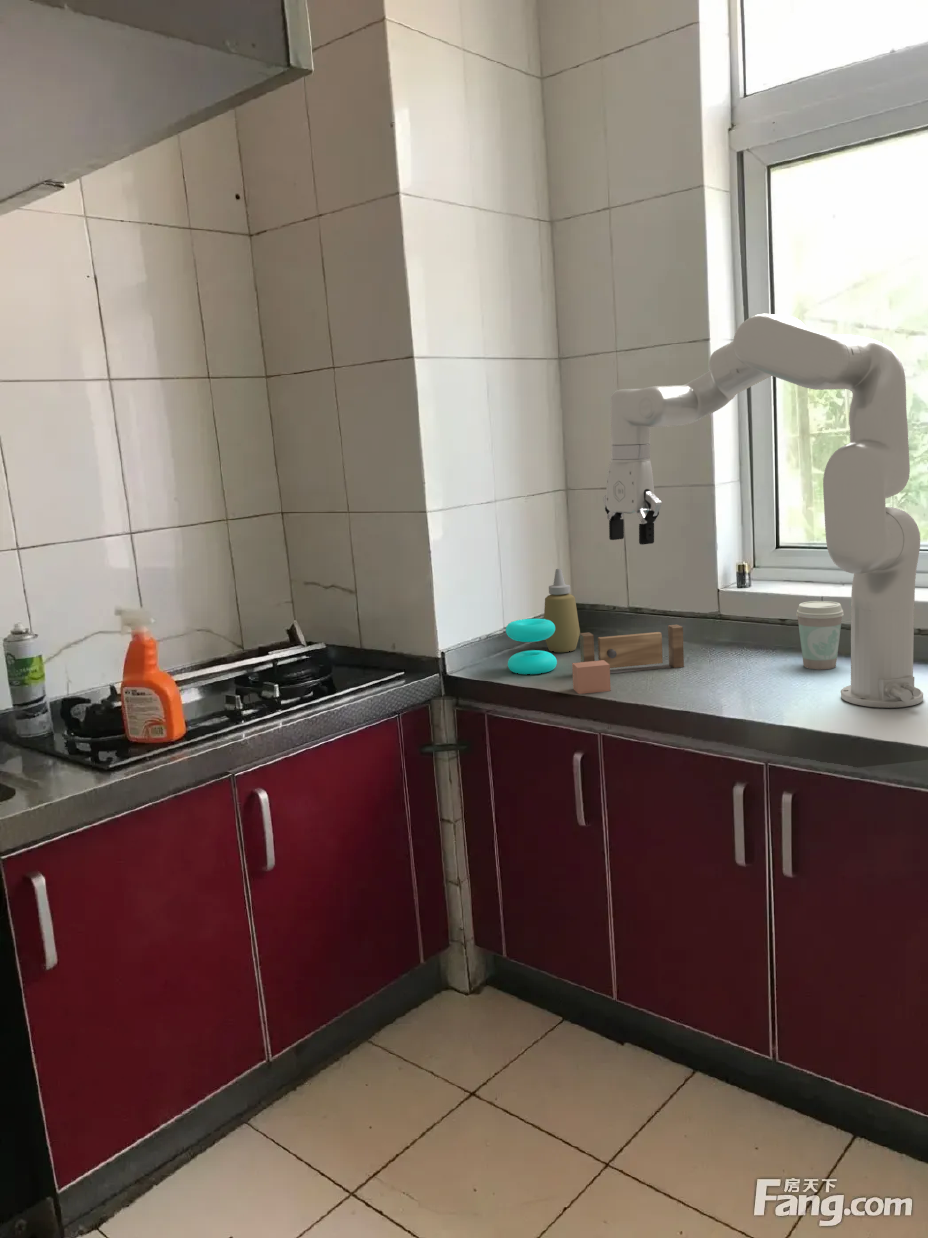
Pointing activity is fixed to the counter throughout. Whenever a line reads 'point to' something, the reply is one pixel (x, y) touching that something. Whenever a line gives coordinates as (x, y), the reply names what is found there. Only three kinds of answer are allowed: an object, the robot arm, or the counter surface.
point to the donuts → (533, 658)
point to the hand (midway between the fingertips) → (631, 541)
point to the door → (631, 649)
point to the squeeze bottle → (561, 616)
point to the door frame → (674, 660)
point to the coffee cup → (819, 633)
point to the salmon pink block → (591, 677)
